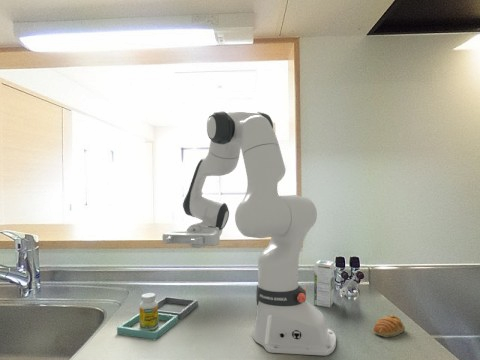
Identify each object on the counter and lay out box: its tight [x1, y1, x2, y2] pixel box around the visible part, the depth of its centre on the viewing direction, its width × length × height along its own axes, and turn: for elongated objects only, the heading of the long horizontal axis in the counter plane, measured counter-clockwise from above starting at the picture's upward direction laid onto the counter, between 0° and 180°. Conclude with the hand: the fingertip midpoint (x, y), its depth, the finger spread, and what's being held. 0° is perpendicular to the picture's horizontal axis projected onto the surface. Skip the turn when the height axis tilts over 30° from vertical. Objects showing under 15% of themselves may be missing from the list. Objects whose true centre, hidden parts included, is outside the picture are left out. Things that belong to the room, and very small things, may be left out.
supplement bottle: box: [138, 292, 159, 331], centre depth 102 cm, size 5×5×10 cm
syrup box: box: [313, 259, 335, 308], centre depth 120 cm, size 6×6×14 cm
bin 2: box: [157, 296, 199, 320], centre depth 116 cm, size 13×13×2 cm
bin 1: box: [116, 312, 179, 340], centre depth 102 cm, size 13×13×2 cm
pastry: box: [373, 315, 406, 338], centre depth 98 cm, size 9×7×4 cm
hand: (180, 241), depth 115 cm, fingers open, 8 cm apart
